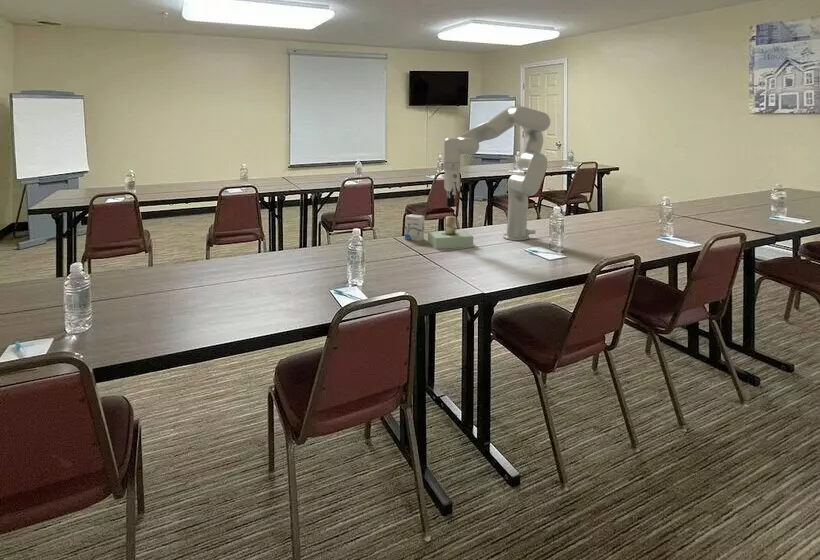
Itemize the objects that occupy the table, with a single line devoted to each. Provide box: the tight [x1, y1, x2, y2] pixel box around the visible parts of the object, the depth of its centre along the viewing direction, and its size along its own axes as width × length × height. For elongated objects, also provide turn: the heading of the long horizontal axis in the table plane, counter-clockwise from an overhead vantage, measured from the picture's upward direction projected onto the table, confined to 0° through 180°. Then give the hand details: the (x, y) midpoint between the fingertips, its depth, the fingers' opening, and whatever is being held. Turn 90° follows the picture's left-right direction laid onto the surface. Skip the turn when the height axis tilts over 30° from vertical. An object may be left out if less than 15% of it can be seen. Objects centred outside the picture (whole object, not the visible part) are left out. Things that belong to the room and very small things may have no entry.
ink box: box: [404, 213, 426, 242], centre depth 267 cm, size 9×5×12 cm, turn 62°
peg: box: [444, 215, 457, 235], centre depth 256 cm, size 5×5×12 cm
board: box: [427, 229, 474, 250], centre depth 258 cm, size 18×14×5 cm
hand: (450, 206), depth 253 cm, fingers closed
